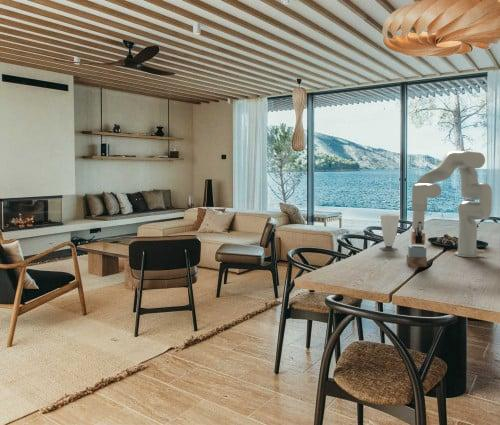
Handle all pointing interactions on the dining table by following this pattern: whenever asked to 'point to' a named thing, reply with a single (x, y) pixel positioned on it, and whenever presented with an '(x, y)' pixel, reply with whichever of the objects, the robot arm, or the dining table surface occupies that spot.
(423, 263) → the tower base
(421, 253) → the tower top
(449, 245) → the dining table surface
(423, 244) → the terracotta cube
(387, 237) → the cup
